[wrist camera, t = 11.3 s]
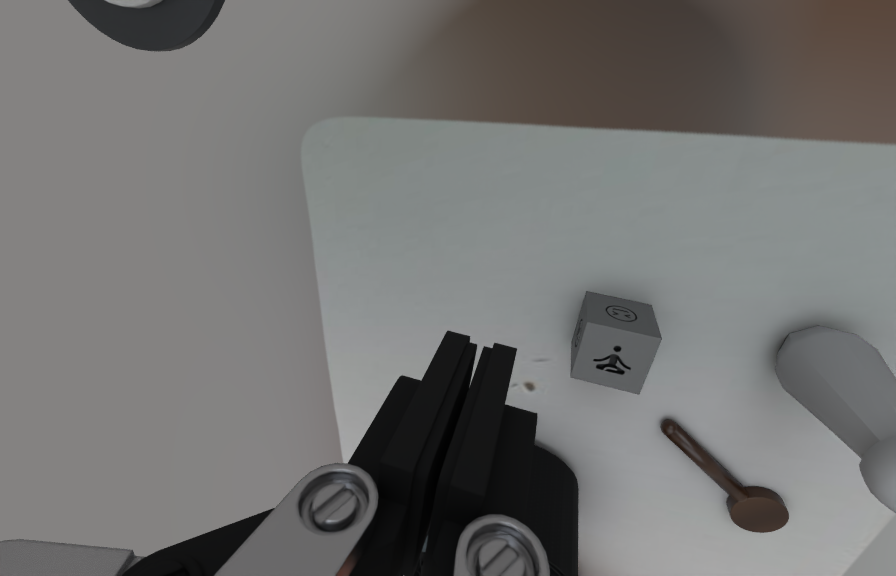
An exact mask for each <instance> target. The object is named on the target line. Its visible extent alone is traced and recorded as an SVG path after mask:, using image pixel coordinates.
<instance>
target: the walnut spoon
mask: <svg viewBox="0 0 896 576" xmlns="http://www.w3.org/2000/svg"><path fill="white" fill-rule="evenodd" d="M661 430H662V432H663V433H664V434H665V435H666V436H667V437H668V438H669V439H670V440H671V441H672V442H673V443H674V444H675V445H676V446H677V447H679V448H680V449H681V450H682V451H683V452H684V453H685V454H686V455H687V456H688V457H689V458H690V459H691V460H692V461H693V462H694V463H696V464H697V465H698V466H699V467H700V468H701V469H702V470H703V471H704V472H705V473H706V474H707V475H708V476H709V477H710V478H711V479H713V480H714V481H715V482H716V483H717V484H718V485H719V486H720V487H721V488H722V489H723V490H724V491H725V492H726V493H727V494H728V495H729V497H728V499H727V507H728V510H729V513H730V516H731V519H732V520H733V522H734V523H735V524H737V525H738V526H739V527H741V528H743V529H745V530H748V531H752V532H760V533H764V532H772V531H775V530H778V529H780V528H782V527H783V526H784V525H785V524H786V523H787V522H788V519H789V513H788V511H787V508H786V506H785V504H784V502H783V500H782V499H781V497H780V496H779V495H778V494H777V493H775V492H773V491H771V490H769V489H766V488H762V487H743V486H742V485H741V484H740V483H739V482H738V481H737V480H736V479H735V478H734V477H733V476H732V475H731V474H729V473H728V472H727V471H726V470H725V469H724V468H723V467H722V466H721V465H720V464H719V463H718V462H717V461H716V460H715V459H714V458H713V457H712V456H711V455H709V454H708V453H707V452H706V451H705V450H704V449H703V448H702V447H701V446H700V445H699V444H698V443H697V442H696V441H695V440H694V439H693V438H692V437H690V436H689V435H688V434H687V433H686V432H685V431H684V430H683V429H682V428H681V427H680V426H679V425H678V424H677V423H676V422H674V421H672V420H665V421H663V422H662V424H661Z"/></svg>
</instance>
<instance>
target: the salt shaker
mask: <svg viewBox="0 0 896 576" xmlns="http://www.w3.org/2000/svg"><path fill="white" fill-rule="evenodd" d="M775 371H776V374H777V376H778V379H779V381H780V383H781V385H782V387H783V389H785V390H786V391H787V392H788V393H789V394H790V395H791V396H793V397H794V398H795V399H796V400H797V401H798V402H799V403H800V404H802V405H803V406H804V407H805V408H806V409H807V410H808V411H810V412H811V413H812V414H813V415H814V416H815V417H816V418H817V419H819V420H820V421H821V422H822V423H823V424H824V425H825V426H826V427H828V428H829V429H830V430H831V431H832V432H833V433H834V434H835V435H837V436H838V437H839V438H840V439H841V440H842V441H843V442H844V443H845V444H846V445H847V446H848V447H849V448H851V449H852V450H853V451H854V452H855V453H856V454H857V455H858V456H859V457H860V458H861V459H862V460H861V462H860V464H859V467H860V471H861V474H862V476H863V479H864V481H865V483H866V485H867V487H868V488H869V490H870V492H871V493H872V494H873V495H874V496H875V497H876V498H877V499H878V500H879V501H880V502H881V503H882V504H884V505H885V506H886V507H888V508H889V509H890V510H892V511H893V512H895V513H896V378H895V376H894V375H893V373H892V372H891V370H890V369H889V367H888V365H887V364H886V362H885V361H884V359H883V358H882V356H881V355H880V353H879V352H878V350H877V349H876V348H875V347H873V346H872V345H871V344H869V343H868V342H867V341H865V340H864V339H862V338H861V337H859V336H858V335H856V334H852V333H847V332H843V331H838V330H834V329H830V328H826V327H822V326H819V325H818V326H815V327H811V328H807V329H804V330H800V331H797V332H793V333H790V334H789V335H788V336H787V338H786V340H785V342H784V343H783V345H782V347H781V348H780V350H779V352H778V354H777V360H776V366H775Z"/></svg>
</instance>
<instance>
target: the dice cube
mask: <svg viewBox="0 0 896 576" xmlns="http://www.w3.org/2000/svg"><path fill="white" fill-rule="evenodd" d="M661 340H662V337H661V334H660V331H659V328H658V324H657V321H656V318H655V315H654V312H653V308H652V305H649V304H644V303H639V302H634V301H630V300H625V299H620V298H616V297H611V296H606V295H601V294H597V293H592V292H587V291H586V295H585V298H584V301H583V305H582V308H581V312H580V315H579V319H578V322H577V326H576V329H575V333H574V336H573V339H572V348H571V378H575V379H579V380H583V381H587V382H591V383H595V384H599V385H603V386H607V387H611V388H615V389H619V390H623V391H627V392H631V393H635V394H640V391H641V389H642V387H643V384H644V382H645V379H646V377H647V374H648V372H649V369H650V367H651V364H652V362H653V360H654V357H655V355H656V352H657V350H658V347H659V345H660V342H661Z"/></svg>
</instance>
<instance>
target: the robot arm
mask: <svg viewBox="0 0 896 576" xmlns="http://www.w3.org/2000/svg"><path fill="white" fill-rule="evenodd" d="M105 1H107V2H109V3H112V4H115V5H119V6H123V7H131V8H146V7H151V6H153V5H155V4H157V3H160V2H161V1H162V0H105ZM476 350H477V344H473V343H470V336H467V335H463V334H459V333H455V332H451V331H447V332H446V334H445V336H444V338H443V340H442V342H441V344H440V346H439V348H438V350H437V351H436V353H435V355H434V357H433V359H432V361H431V363H430V365H429V367H428V369H427V371H426V373H425V375H424V377H423V379H422V381H420V380H417V379H413V378H410V377H406V376H403V375H402V376H400V377H399V379H398V380H397V381H396V383H395V385H394V386H393V388H392V390H391V391H390V393H389V395H388V396H387V398H386V400H385V402H384V403H383V405H382V407H381V408H380V410H379V412H378V413H377V415H376V417H375V418H374V420H373V422H372V423H371V425H370V427H369V428H368V430H367V432H366V434H365V435H364V437H363V439H362V440H361V442H360V444H359V445H358V447H357V449H356V450H355V452H354V454H353V455H352V457H351V459H350V460H349V462H348V464H344V463H334V464H329V465H325V466H321V467H319V468H317V469H315V470H313V471H311V472H310V473H308V474H307V475H306V476H305V477H304V478H303V479H301V480H300V481H299V482H298V483H297V484H296V486H294V488H293V489H292V490H291V491H290V492H289V493H288V494H287V495H286V496H285V498H284V499H283V500H282V501H281V502H280V503H279V504H278V505H277V506H276V508H273V509H270V510H268V511H265V512H262V513H260V514H257V515H254V516H251V517H249V518H246V519H243V520H241V521H238V522H235V523H232V524H230V525H227V526H224V527H222V528H219V529H216V530H213V531H211V532H208V533H205V534H202V535H200V536H197V537H195V538H192V539H189V540H186V541H183V542H181V543H178V544H176V545H173V546H170V547H167V548H164V549H162V550H159V551H157V552H155V553H153V554H151V555H149V556H147V557H140V556H135V555H134V552H133V550H127V549H117V548H107V547H96V546H86V545H76V544H65V543H55V542H43V541H34V540H24V539H17V540H5V541H0V576H403V575H404V576H414V573H415V570H416V567H417V564H418V561H419V558H420V555H421V552H422V549H423V546H424V543H425V540H426V537H427V534H428V531H429V534H428V540H427V546H426V552H425V558H424V564H423V570H422V575H421V576H550V569H549V564H548V559H547V555H546V552H545V550H544V548H543V546H542V544H541V542H540V540H539V539H538V537H537V536H536V535H535V534H534V533H533V532H532V531H531V530H530V529H529V528H528V527H527V526H525V519H526V510H527V502H528V493H529V485H530V476H531V468H532V459H533V451H534V442H535V434H536V425H537V413H533V412H530V411H526V410H523V409H519V408H516V407H512V406H509V405H505V401H506V396H507V392H508V387H509V383H510V378H511V374H512V369H513V365H514V360H515V356H516V351H517V348H513V347H509V346H505V345H502V344H498V343H494V345H493V348H489V347H485V346H484V348H483V350H482V353H481V356H480V359H479V362H478V365H477V368H476V371H475V373H474V376H473V379H472V382H471V385H470V381H471V376H472V371H473V365H474V360H475V355H476ZM469 386H470V388H469Z"/></svg>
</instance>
